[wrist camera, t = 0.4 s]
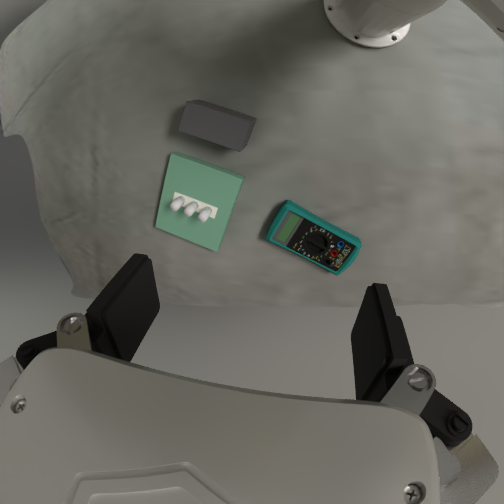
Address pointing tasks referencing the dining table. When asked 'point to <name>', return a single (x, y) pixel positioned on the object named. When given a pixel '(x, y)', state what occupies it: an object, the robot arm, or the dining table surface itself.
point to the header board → (197, 200)
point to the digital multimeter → (313, 238)
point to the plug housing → (216, 124)
